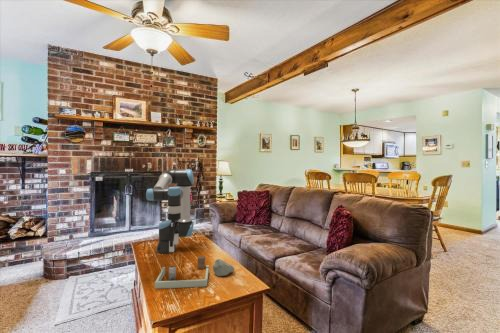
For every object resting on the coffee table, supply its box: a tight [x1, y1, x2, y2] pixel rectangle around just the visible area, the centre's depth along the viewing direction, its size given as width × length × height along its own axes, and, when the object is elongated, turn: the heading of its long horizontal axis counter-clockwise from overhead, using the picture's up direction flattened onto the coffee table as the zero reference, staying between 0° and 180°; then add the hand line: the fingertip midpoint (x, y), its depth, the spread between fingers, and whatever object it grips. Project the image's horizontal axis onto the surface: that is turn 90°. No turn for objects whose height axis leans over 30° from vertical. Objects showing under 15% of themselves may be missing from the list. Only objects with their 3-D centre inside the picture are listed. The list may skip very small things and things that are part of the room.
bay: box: [154, 264, 210, 290], centre depth 148 cm, size 18×29×4 cm, turn 97°
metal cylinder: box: [168, 265, 177, 281], centre depth 149 cm, size 4×4×7 cm
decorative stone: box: [212, 258, 235, 277], centre depth 157 cm, size 13×11×10 cm
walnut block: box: [197, 255, 206, 270], centre depth 166 cm, size 4×4×7 cm
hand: (174, 247), depth 150 cm, fingers open, 13 cm apart
